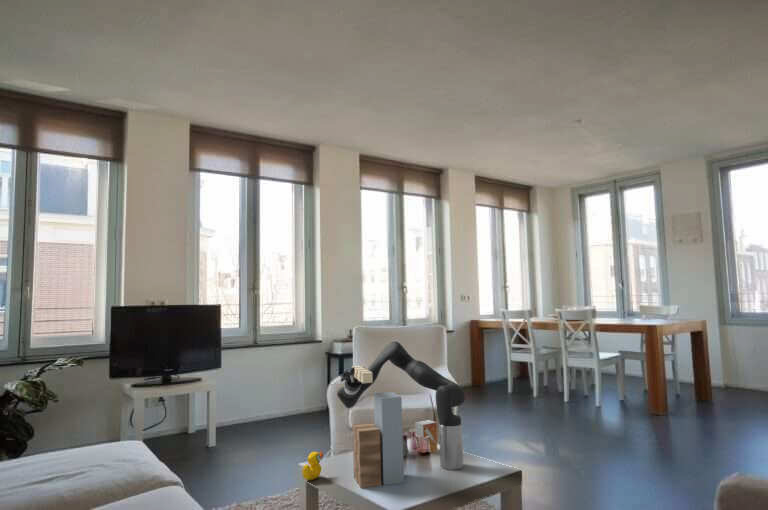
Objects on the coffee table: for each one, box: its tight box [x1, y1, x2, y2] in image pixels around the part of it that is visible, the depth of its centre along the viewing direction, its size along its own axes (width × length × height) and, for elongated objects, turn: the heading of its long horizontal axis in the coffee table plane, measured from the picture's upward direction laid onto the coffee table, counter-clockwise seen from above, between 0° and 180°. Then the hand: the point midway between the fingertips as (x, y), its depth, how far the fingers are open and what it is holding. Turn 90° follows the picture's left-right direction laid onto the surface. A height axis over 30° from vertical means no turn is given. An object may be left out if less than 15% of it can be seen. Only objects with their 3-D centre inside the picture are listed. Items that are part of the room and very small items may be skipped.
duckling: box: [302, 451, 324, 481], centre depth 198 cm, size 11×5×10 cm, turn 150°
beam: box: [351, 365, 374, 384], centre depth 210 cm, size 22×4×4 cm, turn 15°
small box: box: [414, 419, 438, 453], centre depth 231 cm, size 8×6×13 cm
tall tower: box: [373, 391, 405, 486], centre depth 197 cm, size 12×8×32 cm, turn 15°
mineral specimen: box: [403, 438, 409, 457], centre depth 225 cm, size 7×9×8 cm
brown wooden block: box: [352, 422, 382, 489], centre depth 194 cm, size 12×8×20 cm, turn 15°
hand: (358, 369), depth 216 cm, fingers closed on beam, 4 cm apart
